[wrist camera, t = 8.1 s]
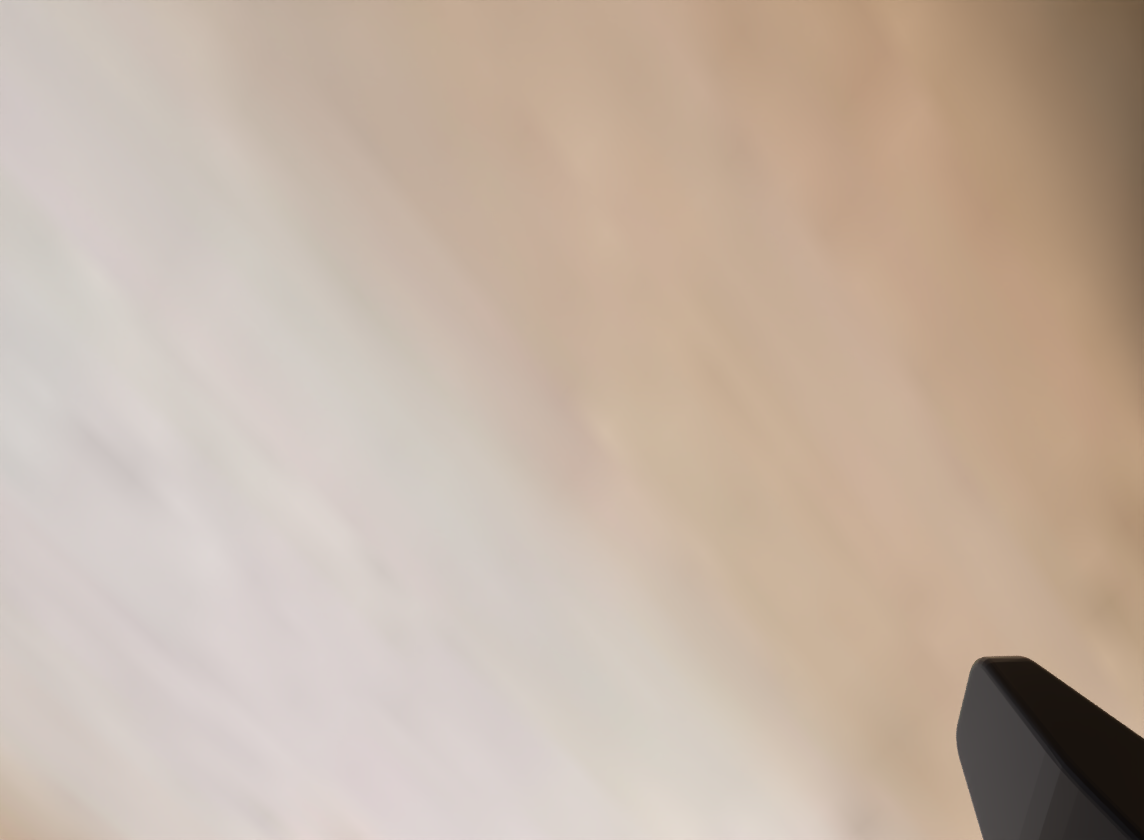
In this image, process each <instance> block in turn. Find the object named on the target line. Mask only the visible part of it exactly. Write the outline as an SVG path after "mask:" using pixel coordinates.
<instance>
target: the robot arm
mask: <svg viewBox="0 0 1144 840" xmlns="http://www.w3.org/2000/svg"><path fill="white" fill-rule="evenodd" d="M956 741H957V749H958V755H959V758H960V762H961V765H962V769H963V772H964V776H965V779H966V782H967V786H968V789H969V793H970V796H971V799H972V803H973V806H974V810H975V813H976V816H977V820H978V823H979V827H980V830H981V833H982V837H983V840H1144V739H1143V738H1142V737H1141V736H1139V735H1138V734H1136V733H1135V732H1134V731H1132V730H1131V729H1129V728H1128V727H1126V726H1125V725H1124V724H1122V723H1121V722H1119V721H1118V720H1117V719H1115V718H1114V717H1112V716H1111V715H1109V714H1108V713H1107V712H1105V711H1104V710H1102V709H1101V708H1099V707H1098V706H1097V705H1095V704H1094V703H1092V702H1091V701H1090V700H1088V699H1087V698H1085V697H1084V696H1082V695H1081V694H1080V693H1078V692H1077V691H1075V690H1074V689H1073V688H1071V687H1070V686H1068V685H1067V684H1065V683H1064V682H1063V681H1061V680H1060V679H1058V678H1057V677H1055V676H1054V675H1053V674H1051V673H1050V672H1048V671H1047V670H1046V669H1044V668H1043V667H1041V666H1040V665H1038V664H1037V663H1036V662H1034V661H1032V660H1031V659H1029V658H1026V657H1022V656H994V657H982V658H980V659H978V660H976V661H975V663H974V664H973V665H972V668H971V671H970V674H969V678H968V682H967V686H966V691H965V695H964V699H963V703H962V707H961V711H960V716H959V720H958V724H957V732H956Z"/></svg>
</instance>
